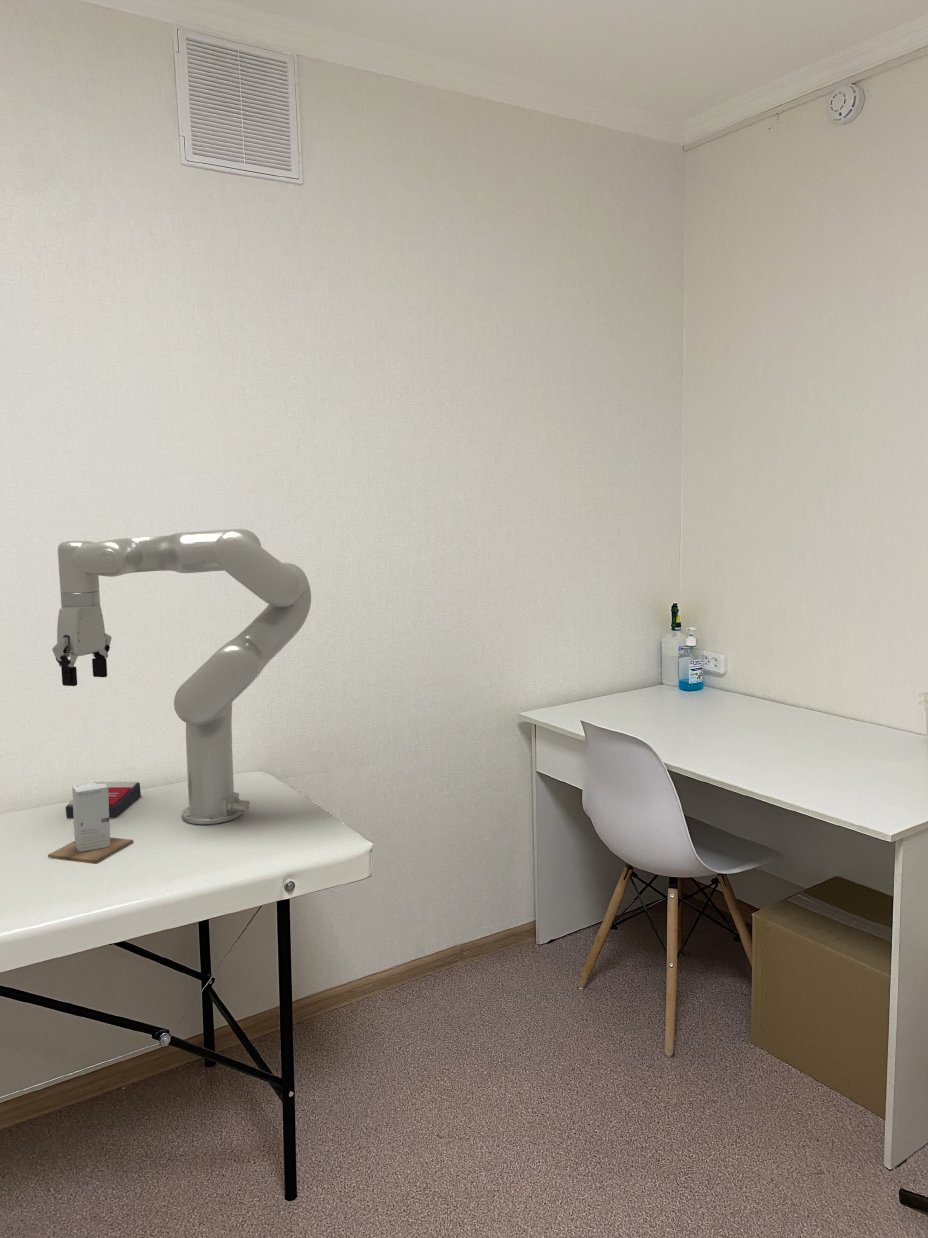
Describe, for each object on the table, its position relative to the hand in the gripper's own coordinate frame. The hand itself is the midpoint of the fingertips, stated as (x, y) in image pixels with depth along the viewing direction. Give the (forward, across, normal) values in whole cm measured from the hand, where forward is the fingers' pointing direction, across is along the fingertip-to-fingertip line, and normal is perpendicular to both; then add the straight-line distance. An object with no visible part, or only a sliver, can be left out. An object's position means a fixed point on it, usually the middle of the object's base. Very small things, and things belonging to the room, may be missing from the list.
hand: (85, 681), depth 193 cm
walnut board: (+30, +16, +11) cm, 36 cm away
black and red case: (+31, -8, -3) cm, 32 cm away
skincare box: (+30, +15, +11) cm, 35 cm away
